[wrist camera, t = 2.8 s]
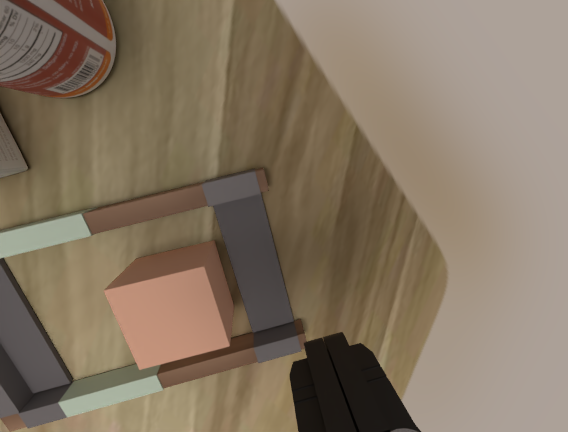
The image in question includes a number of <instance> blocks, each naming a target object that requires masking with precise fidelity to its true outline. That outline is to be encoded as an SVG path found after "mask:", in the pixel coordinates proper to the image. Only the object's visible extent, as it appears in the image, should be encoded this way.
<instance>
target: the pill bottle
mask: <svg viewBox="0 0 568 432" xmlns="http://www.w3.org/2000/svg"><path fill="white" fill-rule="evenodd" d="M115 54H116V37H115V30H114V26H113V23H112V20H111V17H110V14H109V12H108V9H107V7H106V5H105V3H104V1H103V0H0V86H2V87H6V88H11V89H15V90H20V91H24V92H28V93H33V94H37V95H42V96H48V97H54V98H70V97H76V96H80V95H83V94H86V93H88V92H90V91H92V90H94V89H95V88H96V87H98V86H99V85H100V84H101V83H102V82H103V81H104V80H105V79H106V77H107V76H108V74H109V73H110V71H111V69H112V66H113V63H114V59H115Z"/></svg>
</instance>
